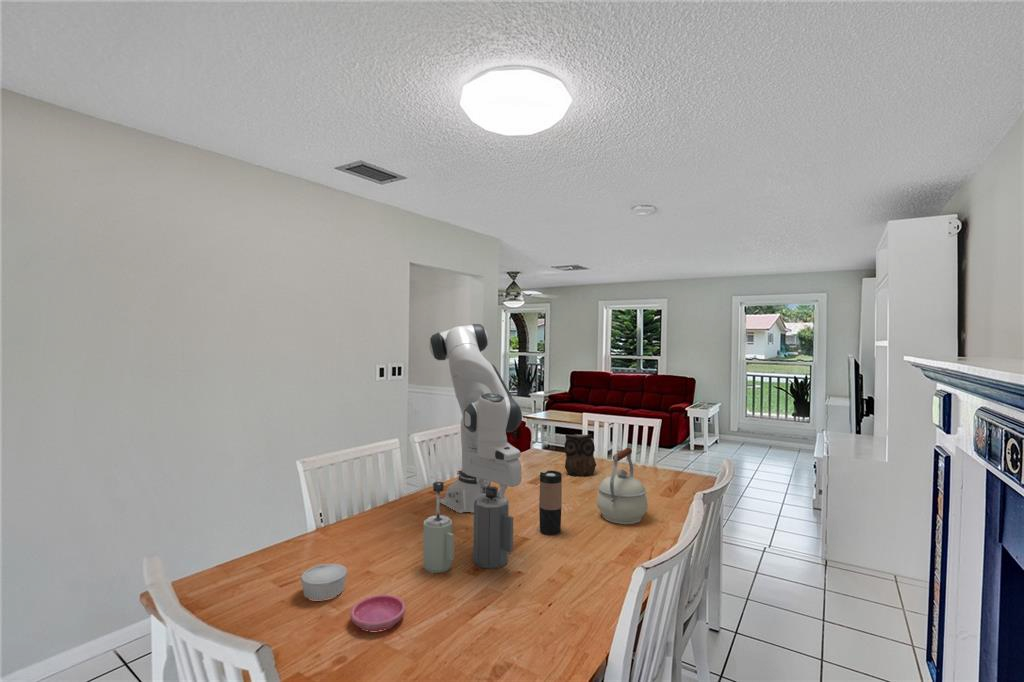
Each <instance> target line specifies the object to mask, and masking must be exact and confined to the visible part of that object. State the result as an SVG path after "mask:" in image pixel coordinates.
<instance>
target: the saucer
mask: <svg viewBox="0 0 1024 682" xmlns="http://www.w3.org/2000/svg"><path fill="white" fill-rule="evenodd" d="M405 613H406V603H405V602H404V600H403V599H402V598H400V597H397V596H395V595H391V594H377V595H372V596H369V597H366V598H363V599H361V600H359V601H358V602H356V603H355V604H354V605H353V606H352V608H351V610H350V619H351V621H352V623H354V625H355V626H357V627H358V628H359V627H360V628H361V629H364V630H368V631H379V630H384V629H388V628H390V627H392V626H393V625H395V624H396V623H398V622H400V620H401V619H402V618H403V616H404V615H405ZM396 625H397V624H396ZM396 625H395V626H396ZM393 627H394V626H393ZM393 627H392V628H393ZM360 628H359V629H360ZM361 629H360V630H361ZM390 629H391V628H390ZM388 630H389V629H388Z"/></svg>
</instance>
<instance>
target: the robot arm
mask: <svg viewBox="0 0 1024 682" xmlns="http://www.w3.org/2000/svg"><path fill="white" fill-rule="evenodd" d="M488 343H489V335H488V331H487V330H486V329H485V327H484V326H483V325H482V324H480V323H472V325H470V324H469V325H462V326H461V325H458V326H454V327H453V328H450V329H447V330H445V331H441V332H436V333H435V334H432V335H431V336H430V338H429V345H428V346H429V352H430V353H431V355H432V356H433V357H434V359H435V360H436V361H446V360H448V365H449V373H450V377H451V380H452V381H451V382H452V385H453V390H454V394H455V397H456V400H457V402H458V403H457V404H458V406H459V408H460V412H461V415H462V417H461V420H460V440H461V441H460V444H461V470H458V471H457V472H456V476H457V475H458V477H457V479H455V481H454V482H453V483H451V484H449V486H448V487H447V488H446V491H445V496H444V497H442V498H440V503H442V504H444V505H446V506H448V507H449V508H448V507H447V508H448V509H450V508H451V509H450V510H452V509H453V510H455V511H456V513H457V512H459V513H458V514H464V513H463V512H471V513H470V514H474V502H475V500H477V498H478V497H481V496H484V495H486V487H489V486H492V485H491V483H496V484H498V485H499V488H500V489H499V491H498V492H497V498H500V499H502V498H504V497H505V492H506V490H508V489H507V488H508V487H510V488H514V487H517V486H519V485H520V484H521V483H522V463H521V461H520V459H519V458H521V454H522V453H521V451H520V450H519V449H518V448H516V447H515V446H513V445H512V444H510V442H508V437H507V433H513V432H514V431H516V430H517V429H518V428H519V426H520V425H521V423H522V420H523V413H522V409H521V407H520V405H519V404H518V402H517V401H516V400H515V399H514V398H513V396H512V395H511V393H510V390H509V389H508V388H507V385H506V384H505V382H504V380H503V378H502V375H501V374H500V372H499V370H498V369H497V368H496V365H494V363H492V362H490V361H489V360H487V359H486V357H484V355H483V354H482V353H481V352H482V351H484V350H485V349H487V347H488ZM483 385H484V386H486V387H487V388H488V389H489V390H490V393H485V391H484V387H483ZM442 504H441V505H442ZM444 505H443V506H444ZM446 506H445V507H446ZM453 510H452V511H453ZM455 511H454V512H455Z"/></svg>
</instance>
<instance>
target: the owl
mask: <svg viewBox="0 0 1024 682" xmlns="http://www.w3.org/2000/svg"><path fill="white" fill-rule="evenodd" d="M595 448H596V446H595V443H594V441H593V434H576V433H575V434H565V442H564V453H565V457H566V458H565V463H564V469H565V470H566V472H567V474H566V476H568V475H569V477H574V478H577V477H579V478H587V477H593V476H594V473H595V470H596V467H597V463H596V460H595V457H594V452H595V450H596V449H595Z"/></svg>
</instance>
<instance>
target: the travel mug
mask: <svg viewBox="0 0 1024 682" xmlns="http://www.w3.org/2000/svg"><path fill="white" fill-rule="evenodd" d="M562 476H563V475H562V472H560V471H557V470H547V471H545V472H543V471H540V473H539V495H538V496H539V498H538V499H539V504H538V507H539V509H538V510H539V516H538V517H539V532H540V533H541V534H543V535H545V536H557V535H559V534H560V533H561V528H562V524H561V523H562V507H563V506H562V502H563V501H562V499H563V497H562V496H563V495H562V485H563V484H562V483H563V481H562Z"/></svg>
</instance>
